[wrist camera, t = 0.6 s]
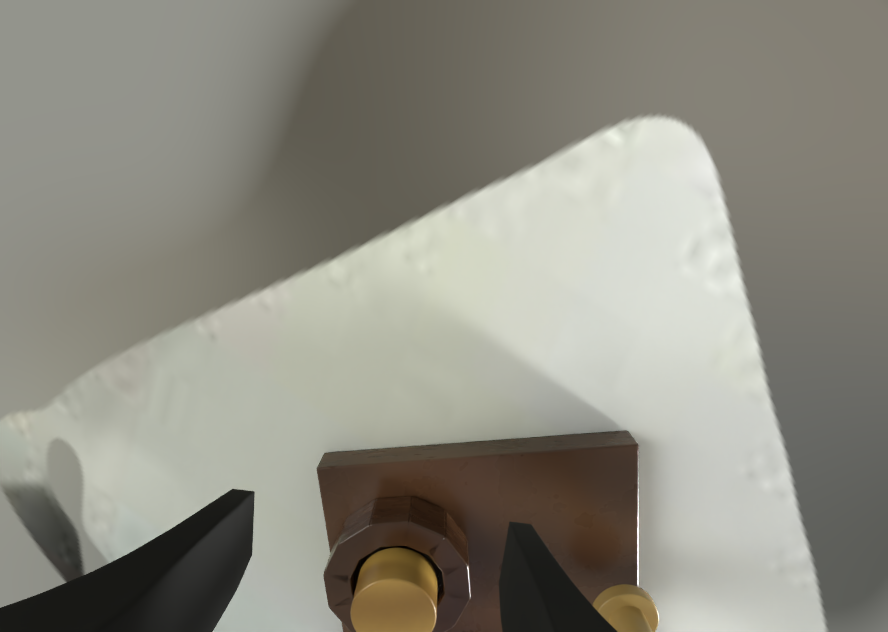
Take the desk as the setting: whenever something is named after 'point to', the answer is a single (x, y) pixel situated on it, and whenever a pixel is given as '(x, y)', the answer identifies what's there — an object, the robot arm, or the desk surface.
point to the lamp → (627, 609)
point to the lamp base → (483, 515)
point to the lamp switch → (395, 593)
